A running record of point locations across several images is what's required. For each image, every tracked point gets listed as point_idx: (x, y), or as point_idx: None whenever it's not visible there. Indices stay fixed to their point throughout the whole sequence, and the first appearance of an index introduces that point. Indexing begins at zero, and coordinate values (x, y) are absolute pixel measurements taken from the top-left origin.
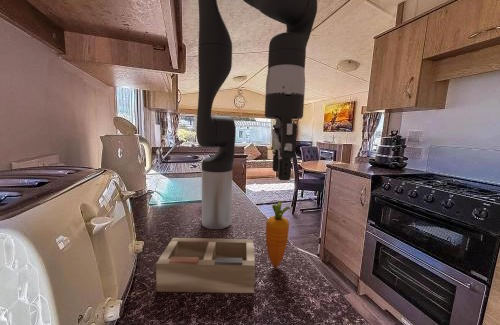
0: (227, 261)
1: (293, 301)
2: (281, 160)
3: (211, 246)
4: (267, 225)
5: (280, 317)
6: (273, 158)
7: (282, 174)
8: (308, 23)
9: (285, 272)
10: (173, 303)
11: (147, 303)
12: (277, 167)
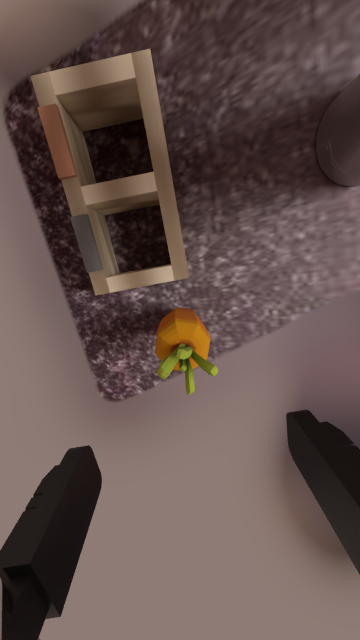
0: (81, 242)
1: (111, 341)
2: (9, 577)
3: (135, 186)
4: (170, 320)
5: (79, 325)
6: (339, 481)
7: (43, 486)
8: None
9: None
10: (52, 165)
11: (36, 117)
12: (298, 447)
